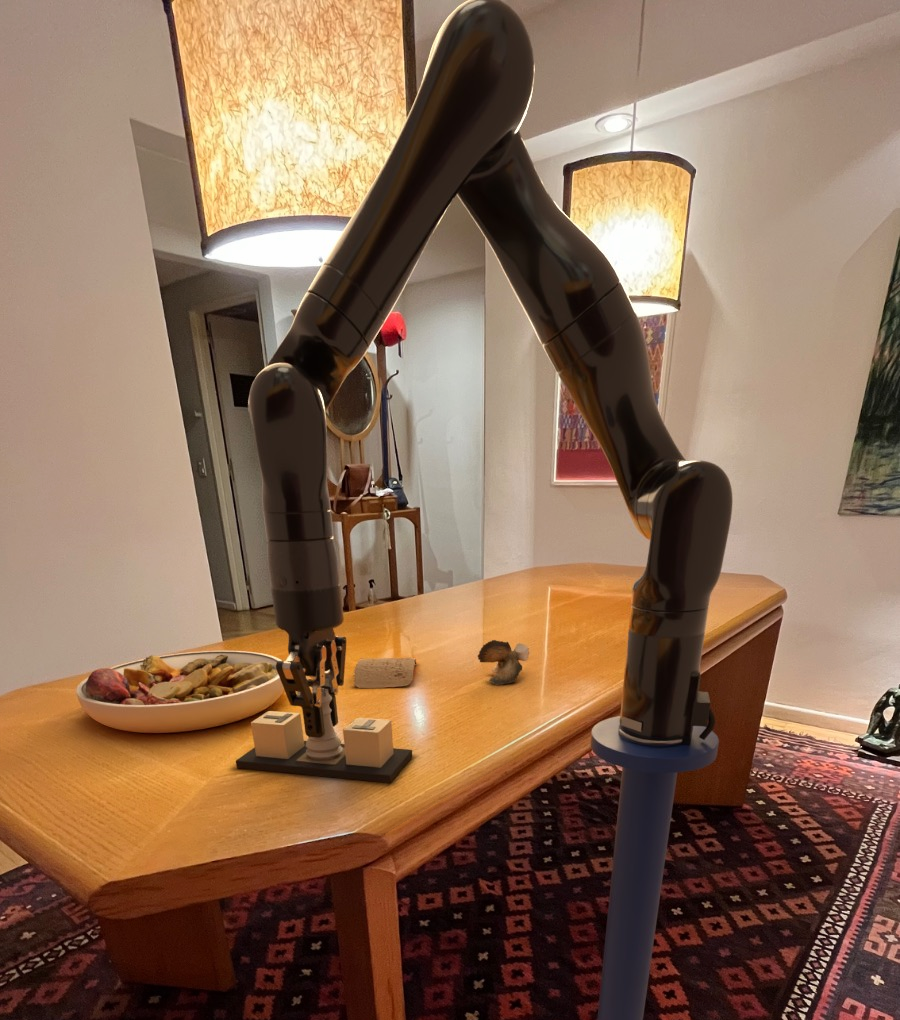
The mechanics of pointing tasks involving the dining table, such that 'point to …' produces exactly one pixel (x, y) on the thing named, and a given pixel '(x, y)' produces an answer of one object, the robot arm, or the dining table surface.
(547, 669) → the dining table surface
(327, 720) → the rook chess piece
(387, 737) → the tile
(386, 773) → the word mat
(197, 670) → the bowl
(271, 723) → the tile
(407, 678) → the clay tablet
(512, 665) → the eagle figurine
